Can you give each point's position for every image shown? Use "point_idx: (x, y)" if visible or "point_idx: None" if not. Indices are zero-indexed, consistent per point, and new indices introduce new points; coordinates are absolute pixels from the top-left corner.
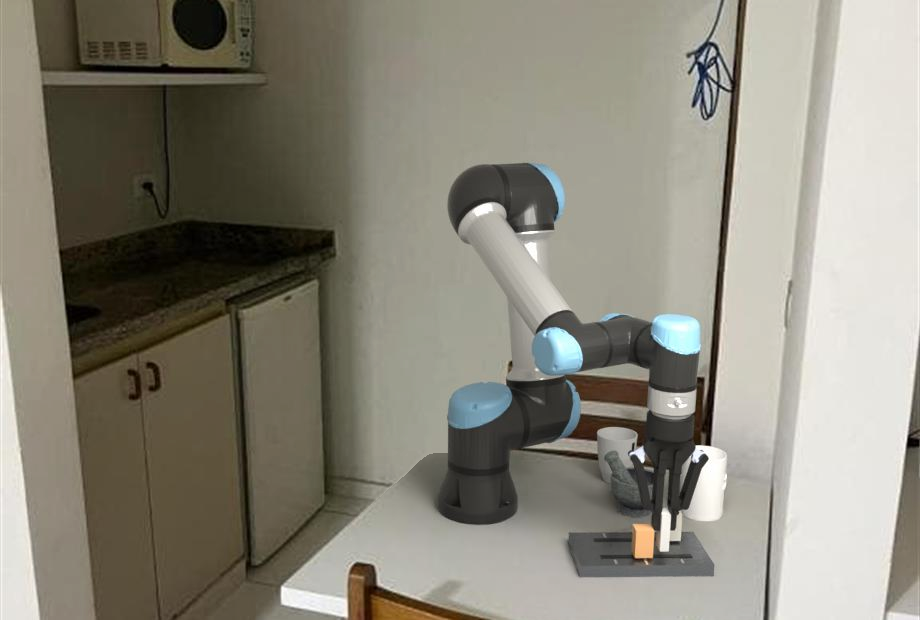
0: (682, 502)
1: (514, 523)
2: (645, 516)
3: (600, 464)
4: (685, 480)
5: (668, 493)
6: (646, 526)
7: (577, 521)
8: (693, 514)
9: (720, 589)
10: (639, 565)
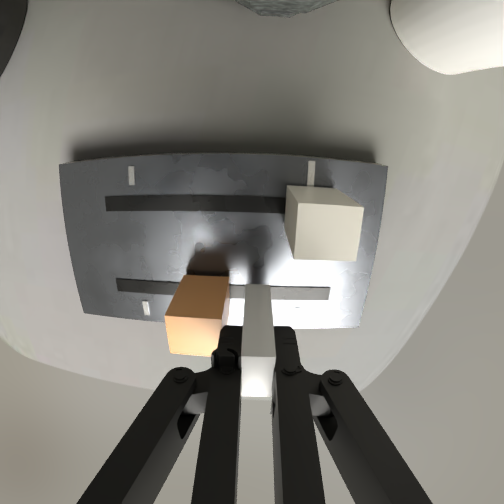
0: (316, 421)
1: (6, 88)
2: (296, 13)
3: None
4: (359, 459)
5: (276, 417)
6: (204, 332)
7: (110, 45)
8: (418, 51)
9: (339, 351)
10: None
